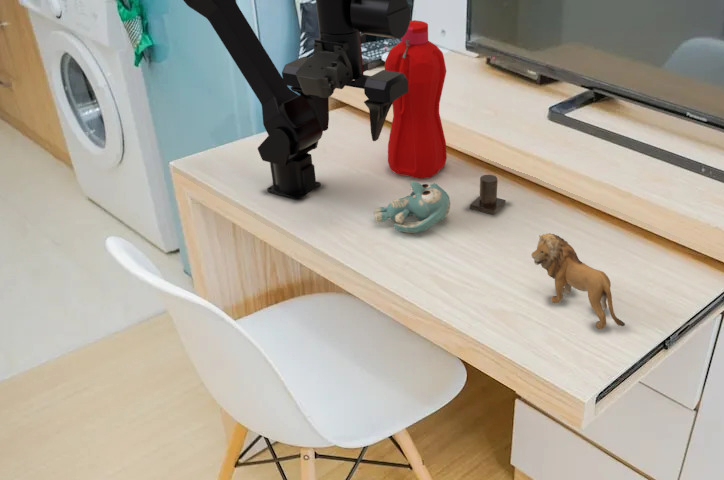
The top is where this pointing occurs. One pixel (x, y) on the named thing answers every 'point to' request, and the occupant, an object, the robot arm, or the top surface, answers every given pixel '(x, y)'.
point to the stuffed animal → (417, 208)
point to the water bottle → (417, 105)
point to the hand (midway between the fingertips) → (349, 135)
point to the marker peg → (488, 196)
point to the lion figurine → (574, 275)
